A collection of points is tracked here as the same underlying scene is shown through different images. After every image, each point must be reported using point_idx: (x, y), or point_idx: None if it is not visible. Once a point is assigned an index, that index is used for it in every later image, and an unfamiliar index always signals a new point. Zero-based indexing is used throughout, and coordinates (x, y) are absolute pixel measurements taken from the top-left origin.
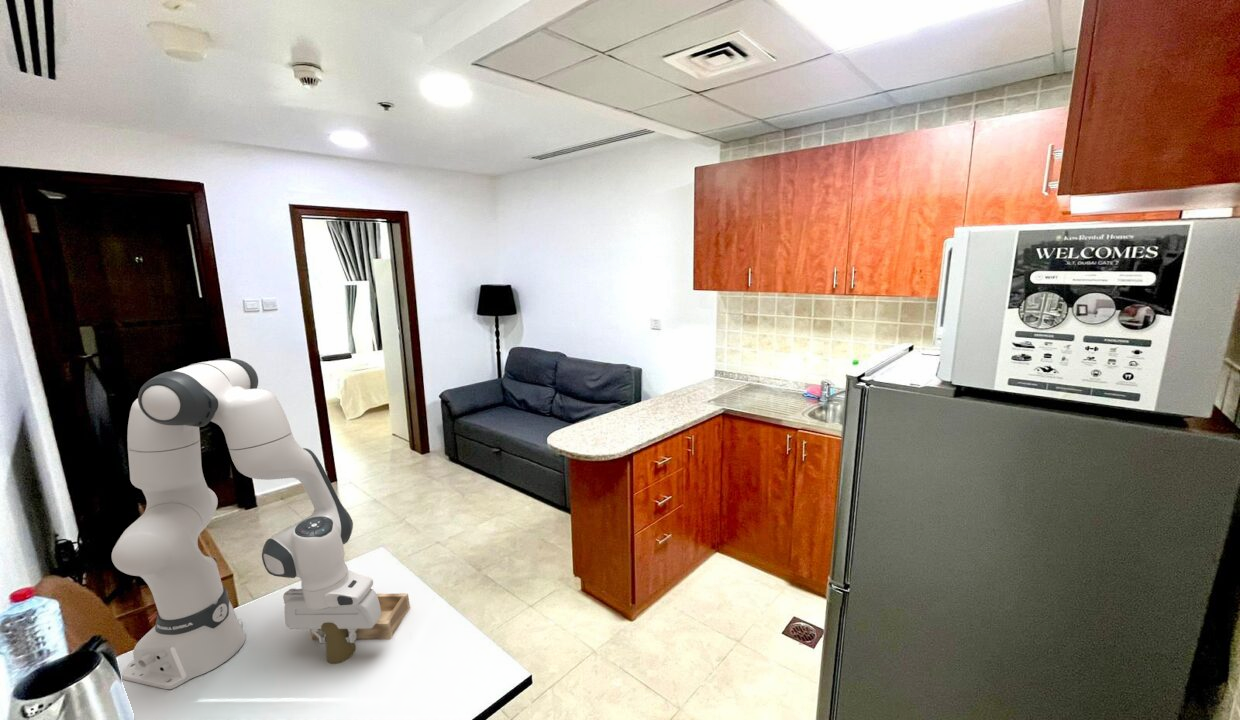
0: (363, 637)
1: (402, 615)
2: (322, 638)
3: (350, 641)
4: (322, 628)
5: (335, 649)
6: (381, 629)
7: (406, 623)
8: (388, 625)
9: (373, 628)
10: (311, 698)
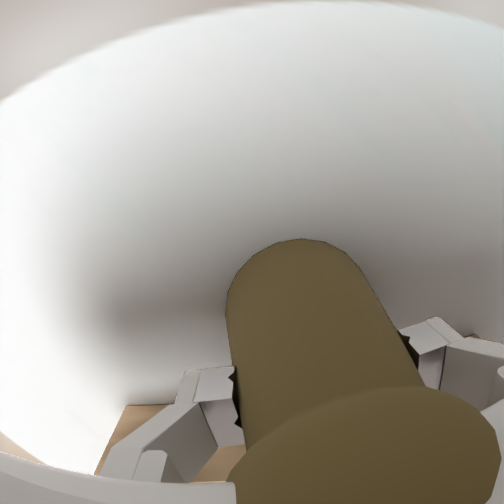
0: None
1: None
2: (434, 343)
3: (195, 376)
4: (474, 433)
5: (282, 301)
6: None
7: None
8: (99, 466)
9: None
10: (249, 53)
